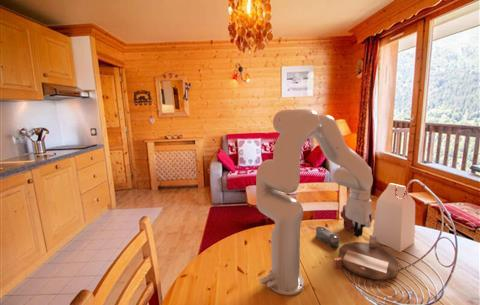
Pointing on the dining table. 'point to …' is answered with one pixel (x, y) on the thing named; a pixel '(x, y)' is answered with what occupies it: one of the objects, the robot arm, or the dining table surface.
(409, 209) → the milk
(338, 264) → the wheel stand
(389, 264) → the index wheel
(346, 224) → the mechanical component
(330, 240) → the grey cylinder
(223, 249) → the dining table surface
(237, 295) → the dining table surface
